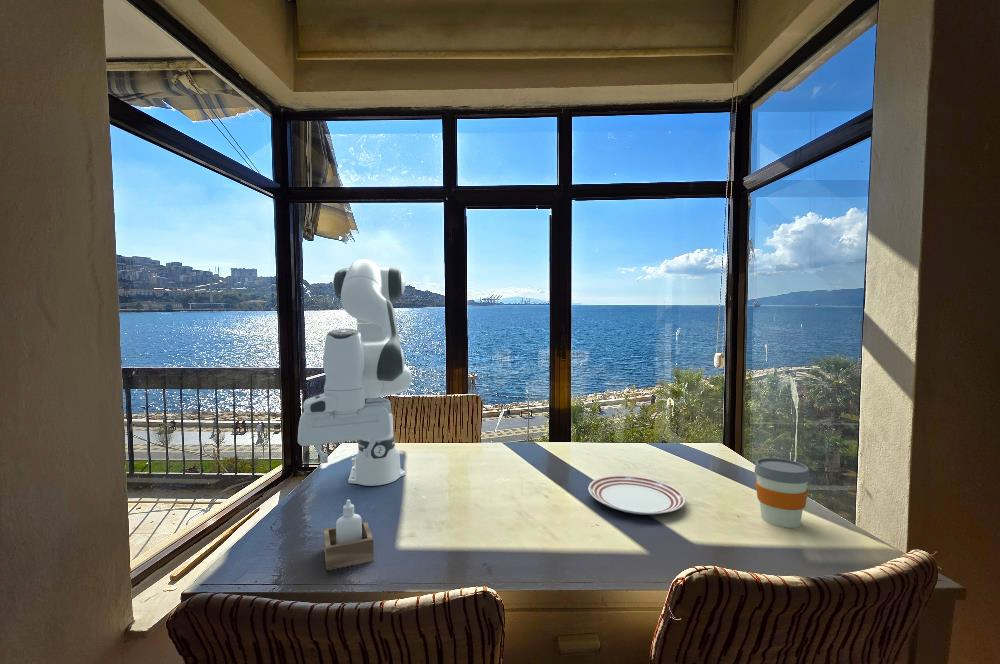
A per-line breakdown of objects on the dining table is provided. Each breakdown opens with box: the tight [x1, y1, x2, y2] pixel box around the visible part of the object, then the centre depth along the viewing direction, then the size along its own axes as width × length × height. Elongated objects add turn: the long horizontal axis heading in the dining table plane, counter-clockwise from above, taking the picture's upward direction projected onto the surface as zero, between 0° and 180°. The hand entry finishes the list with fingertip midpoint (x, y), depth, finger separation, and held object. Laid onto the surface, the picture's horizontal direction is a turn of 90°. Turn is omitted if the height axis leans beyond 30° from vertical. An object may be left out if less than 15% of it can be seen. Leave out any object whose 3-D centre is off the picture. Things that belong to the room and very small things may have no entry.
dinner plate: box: [587, 474, 686, 516], centre depth 137 cm, size 27×27×3 cm
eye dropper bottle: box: [335, 499, 363, 544], centre depth 107 cm, size 4×6×12 cm
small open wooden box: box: [323, 520, 375, 571], centre depth 107 cm, size 10×10×5 cm
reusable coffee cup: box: [754, 457, 810, 529], centre depth 124 cm, size 13×13×15 cm
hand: (346, 459), depth 106 cm, fingers open, 8 cm apart
